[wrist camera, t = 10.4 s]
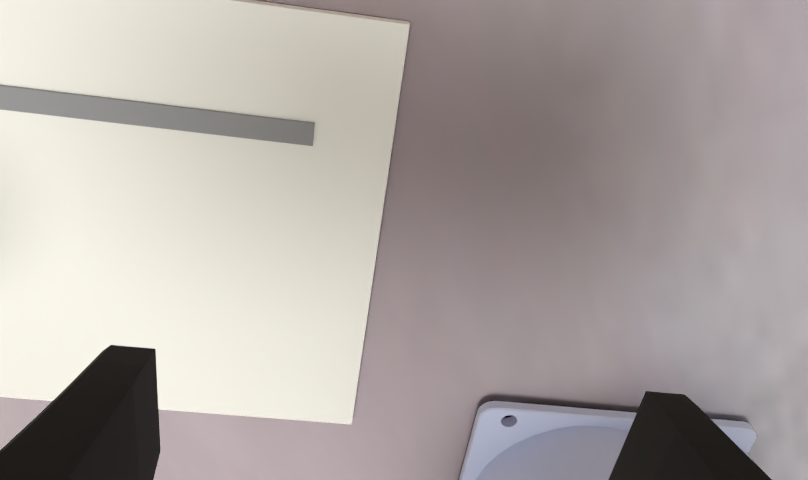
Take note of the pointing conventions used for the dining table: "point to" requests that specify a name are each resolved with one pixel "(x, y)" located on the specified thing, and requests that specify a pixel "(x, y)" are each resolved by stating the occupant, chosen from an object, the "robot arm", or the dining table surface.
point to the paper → (194, 196)
